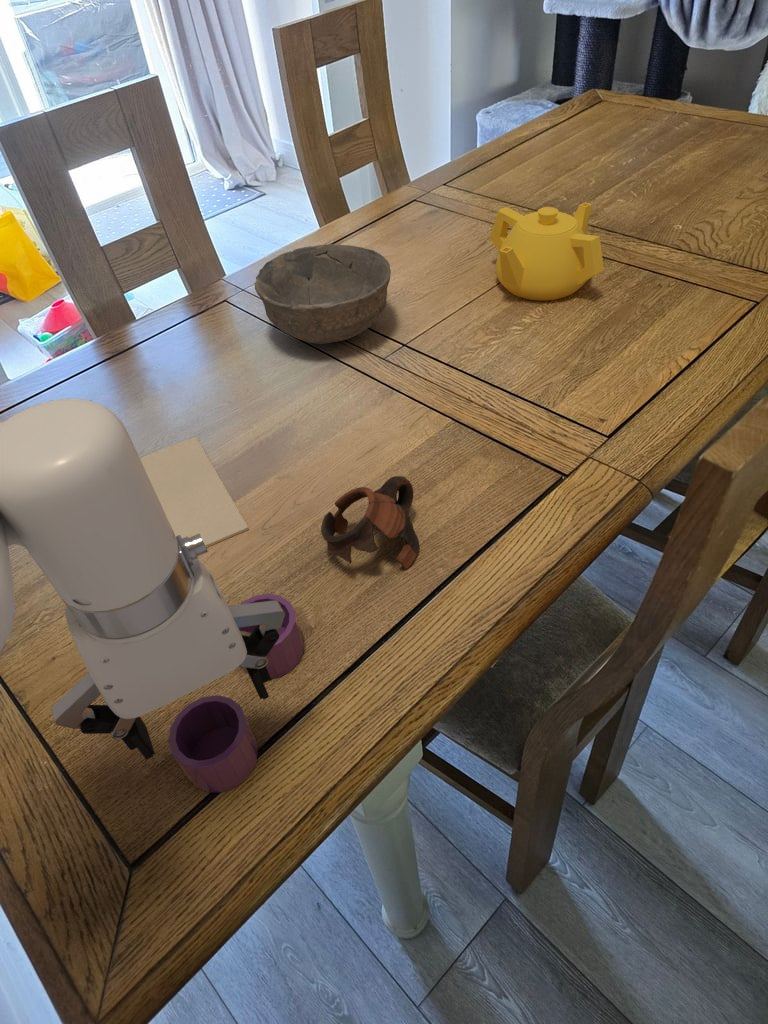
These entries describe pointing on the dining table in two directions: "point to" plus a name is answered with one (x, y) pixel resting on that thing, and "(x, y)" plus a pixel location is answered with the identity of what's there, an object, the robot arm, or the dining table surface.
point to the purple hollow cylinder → (281, 638)
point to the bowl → (324, 291)
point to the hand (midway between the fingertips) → (204, 713)
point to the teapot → (545, 252)
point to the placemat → (193, 493)
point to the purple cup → (213, 743)
